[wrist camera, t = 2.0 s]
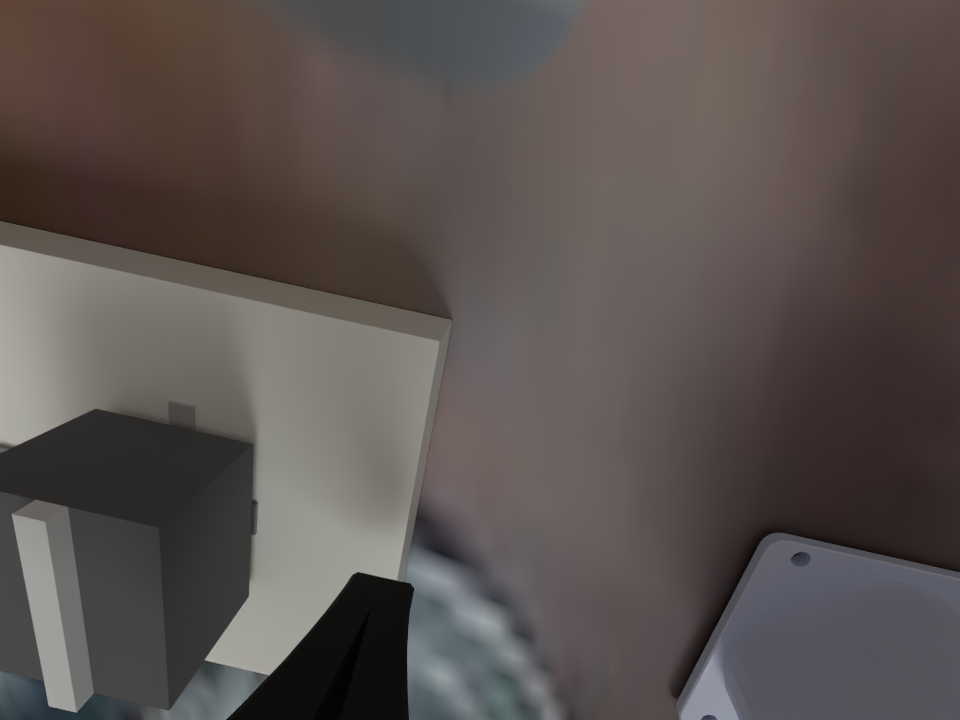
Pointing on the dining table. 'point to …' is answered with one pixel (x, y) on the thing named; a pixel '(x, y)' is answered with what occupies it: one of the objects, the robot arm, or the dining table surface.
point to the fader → (121, 556)
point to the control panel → (237, 404)
